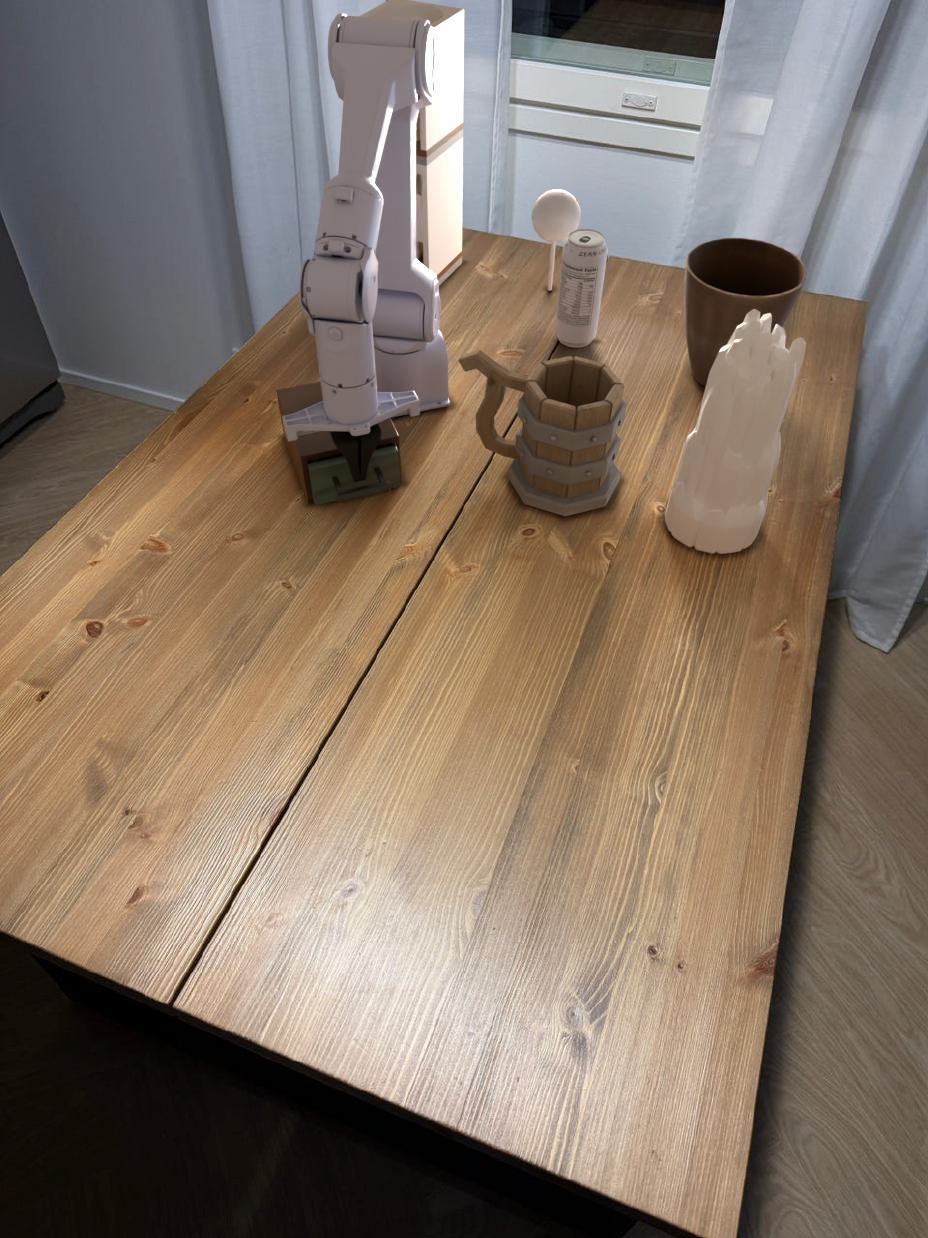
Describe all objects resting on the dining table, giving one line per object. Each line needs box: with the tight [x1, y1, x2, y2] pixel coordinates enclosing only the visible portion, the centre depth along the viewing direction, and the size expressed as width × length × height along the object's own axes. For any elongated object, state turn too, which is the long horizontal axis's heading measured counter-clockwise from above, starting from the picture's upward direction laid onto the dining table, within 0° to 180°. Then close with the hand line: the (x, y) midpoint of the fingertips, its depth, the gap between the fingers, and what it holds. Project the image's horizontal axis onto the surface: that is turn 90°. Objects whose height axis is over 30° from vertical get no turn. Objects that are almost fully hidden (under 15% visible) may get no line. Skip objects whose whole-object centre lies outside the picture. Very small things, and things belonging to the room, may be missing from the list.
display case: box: [359, 0, 465, 286], centre depth 129 cm, size 11×11×35 cm
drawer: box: [307, 444, 401, 506], centre depth 106 cm, size 17×10×5 cm, turn 19°
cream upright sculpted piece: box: [664, 309, 807, 555], centre depth 95 cm, size 11×11×25 cm
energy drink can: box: [554, 228, 609, 349], centre depth 124 cm, size 6×6×15 cm
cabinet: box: [275, 381, 403, 505], centre depth 108 cm, size 14×12×7 cm
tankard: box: [458, 349, 628, 517], centre depth 104 cm, size 20×13×15 cm, turn 65°
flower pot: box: [683, 237, 808, 387], centre depth 118 cm, size 15×15×16 cm
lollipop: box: [531, 188, 582, 291], centre depth 133 cm, size 7×7×15 cm
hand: (358, 475), depth 101 cm, fingers closed
